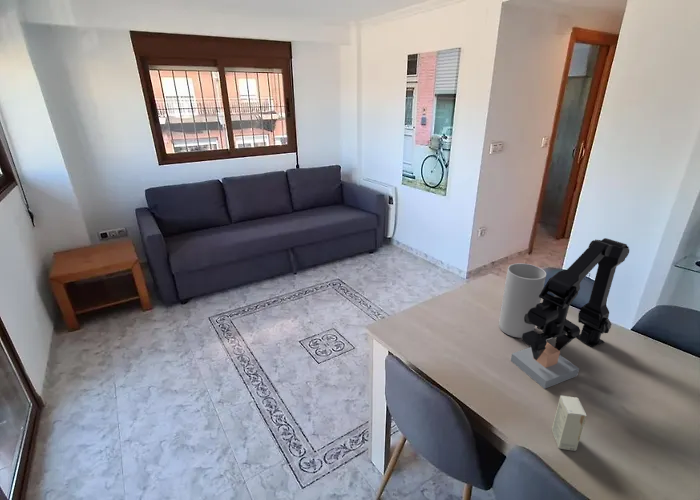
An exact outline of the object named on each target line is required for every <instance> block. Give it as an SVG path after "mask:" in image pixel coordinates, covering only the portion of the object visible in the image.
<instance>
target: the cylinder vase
mask: <svg viewBox="0 0 700 500" xmlns="http://www.w3.org/2000/svg"><path fill="white" fill-rule="evenodd" d="M546 277H547V272H546V271H545V270H544V269H543V268H541V267H539V266H538V265H537V266H536V265H534V264H530V263H521V262H519V263H517V262H516V263H512V264H509V266H508V267H507V272H506V277H505V283H504V289H503V295H502V300H501V308H500V313H499V320H498V328H499V329H500V331H502V333H505V334H506V335H508V336H510V337H512V338H517V339H522V334H523V333H526V332H529V331H532V330H534V331H535V329H536V326H535V325H532V324H527V323H525V322H524V316H525V314H527V313H528V311H529V310H530V309H531V308H533V307H535V306H536V305H537V304H538V303H541V302H542V301H541V300H542V298H540V297H539V295H540V293H541V292H542V290H543V288H544V287H545V284H546Z"/></svg>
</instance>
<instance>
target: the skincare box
mask: <svg viewBox="0 0 700 500" xmlns="http://www.w3.org/2000/svg"><path fill="white" fill-rule="evenodd" d="M558 399H559V400H558V403H557V408H556V412H555V416H554V418H553V419H554V420H553V423H552V427H551V431H552V435H553V437H554V441H555V442H556V446H557V448H558V449H562V450H565V451H566V450H568V451H577V450H578V446H579V443H580V442H579V441H580V439H581V436H582V432H583V429H584V427H585V422H586V418H587V413H586V411H585V408H584V407H583V404H582V402H581V401H580V399H579V397H576V396H574V397H573V396H569V395H563V394H561V395H559V398H558Z"/></svg>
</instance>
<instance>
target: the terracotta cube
mask: <svg viewBox="0 0 700 500" xmlns="http://www.w3.org/2000/svg"><path fill="white" fill-rule="evenodd" d="M546 342H547V344H546V346H545V347H546V349H545V350H544V351H543V353H542V354H541V356H540V357H539V358H538V359H537V360H536V361H537V362H538V363H540V364H541V365H542V366H544V367H545V368H547V367H549V366H552V365H555V364H557V362H558V358H559V354H560V355H561V350H560V351H559V350H558V349H556V348H555V346H554V345H552V344H550V343H549V342H548V341H546ZM533 359H534V357H533Z"/></svg>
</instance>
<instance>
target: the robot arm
mask: <svg viewBox="0 0 700 500" xmlns="http://www.w3.org/2000/svg"><path fill="white" fill-rule="evenodd" d="M629 253H630V247H629V246H628V244H627V243H624V242H619V241H617V240H613V239H610V238H603V239H595V240H592V241H590V243H589V245H588V247H587V248H586V249H585V250H584V252H582V254H581V255H579V256H578V258H577V259H575V261H574V262H573V263H572V264H571V265H570V266H568V268H567V269H564V270H560V271H558V272H556V273H555V274H554V275H553V276H552V277H550V278H549V279H548V280H547V281H546V282H545V284H544V287H543V290H542V292H541V293H540V295H539V297H540V298H541V300H542V301H541V302H540V303H538V304H537V305H536V306H535V307H533V308H531V309H530V310H529V311H528V313H527V314H525V316H524V322H525V323H527V324H532V325H535V327H536V329H538V330H539V331H541V332H542V333H538V332H537V331H536V330H535V329H534V330H532V331H529V332H526V333H523V334H522V338H521V340H522V342H524V343H525V344H527V345H528V346H529V347H531V349H532V353H533V357H534V359H535V360H537V359H538V358H539V357H540V356H541V354H542V353H543V351H544V350H545V349H546V347H545V346H546V344H547V342H548V341H549V340H551V339H555V344H554V347H555V348H556V349H558V350H559V351H560V352H561V351H562V349H564V347H566V346H567V345H568V344H569V343H570V342H572V341H573V340H574V339H578V340H580V341H581V342H582V343H584V344H586V345H587V346H589V347H591V348H593V347H596V346H599V345H601V344H604V343H605V341H604V340H603V339H601V336H602V335H603V334H608V333H610V330H611V327H612V325H613V323H611V320H610V319H609V317H610V310H609V308H608V306H607V301H608V298H609V293H610V290H611V287H612V284H613V281H614V280H613V279H614V276H615V273H616V269H617V267H618V266H619V265H621V264H622V263H623V262H625V261H626V259H627V258H628V256H629ZM597 265H598V266H597ZM596 266H597V269H596V274H595V277H594V281H593V285H592V290H591V292H590V297H589V301H588V302H587V303H586V304H584V305H583V306H581V307H580V309H579V311H578V315H577V316H578V321H577V322H578V323H580V324H582V329H580V327H579V326H578V325H577V324H575V323H574V322H572V321H570V320H568V319H567V317H568V313H569V308H570V306H571V304H572V303H573V302H574V300H575V299H576V298H577V296H578V295H579V292H580V290H581V282H583V280H584V279H585V277H587V275H589V274H590V272H591V271H592V270H593V269H594V268H595V267H596ZM549 293H550V294H549ZM551 294H553V295H551Z"/></svg>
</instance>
